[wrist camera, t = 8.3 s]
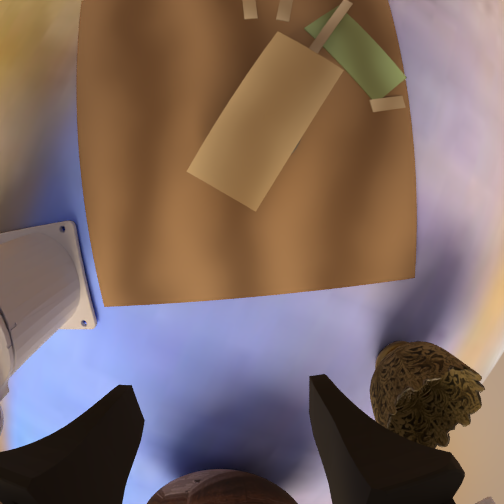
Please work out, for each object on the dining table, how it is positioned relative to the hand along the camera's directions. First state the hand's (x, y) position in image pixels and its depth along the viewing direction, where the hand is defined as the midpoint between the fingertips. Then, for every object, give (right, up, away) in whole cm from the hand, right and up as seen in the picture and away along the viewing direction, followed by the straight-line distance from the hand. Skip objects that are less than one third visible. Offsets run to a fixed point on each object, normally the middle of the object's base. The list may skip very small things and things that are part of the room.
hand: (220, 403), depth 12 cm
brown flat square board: (+1, +14, +7) cm, 16 cm away
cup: (+12, -2, +11) cm, 17 cm away
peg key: (+4, +16, +5) cm, 17 cm away
